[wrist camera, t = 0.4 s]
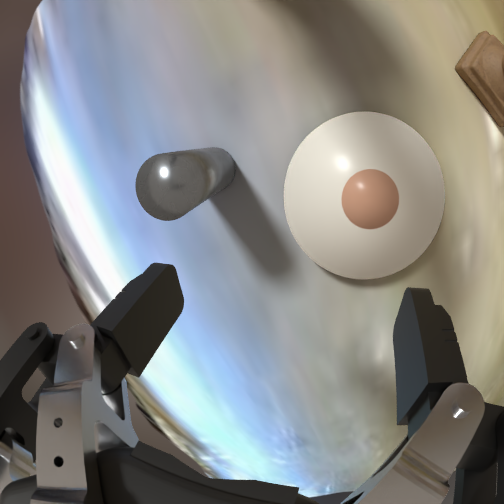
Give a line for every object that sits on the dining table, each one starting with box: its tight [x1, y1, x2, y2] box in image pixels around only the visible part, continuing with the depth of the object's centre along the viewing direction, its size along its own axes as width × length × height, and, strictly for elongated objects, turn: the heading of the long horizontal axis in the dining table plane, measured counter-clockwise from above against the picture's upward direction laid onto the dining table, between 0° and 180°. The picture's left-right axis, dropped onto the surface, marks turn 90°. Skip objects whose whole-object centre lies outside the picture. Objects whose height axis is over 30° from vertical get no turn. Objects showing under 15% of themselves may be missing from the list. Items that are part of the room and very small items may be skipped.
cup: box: [136, 147, 236, 221], centre depth 28 cm, size 6×6×14 cm
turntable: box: [284, 112, 445, 279], centre depth 30 cm, size 20×20×2 cm
